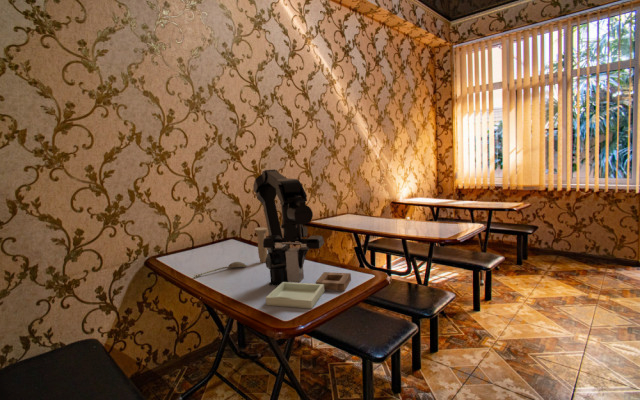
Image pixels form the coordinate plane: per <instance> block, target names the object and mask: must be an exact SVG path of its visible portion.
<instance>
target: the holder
mask: <svg viewBox="0 0 640 400" xmlns="http://www.w3.org/2000/svg"><path fill="white" fill-rule="evenodd" d="M351 281H352V274H351V273H350V272H349V273H348V272H330V271H325V272H323V273H321V275H320V276H319V278H317V280H316V281H315V284H324V291H338V292H339V291H340V292H345V291H346V289H347V288H348V286H349V284H350V283H351Z"/></svg>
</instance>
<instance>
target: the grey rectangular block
mask: <svg viewBox="0 0 640 400" xmlns="http://www.w3.org/2000/svg"><path fill="white" fill-rule="evenodd" d="M300 248H301V247H290V248H289V249H288V250H287V251H285V252H286V265H287V278H288V282H291V283H302V281H303V280H304V279H305V274H304V267H303V268H302V269H300V264H299V252H298V249H300Z"/></svg>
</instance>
